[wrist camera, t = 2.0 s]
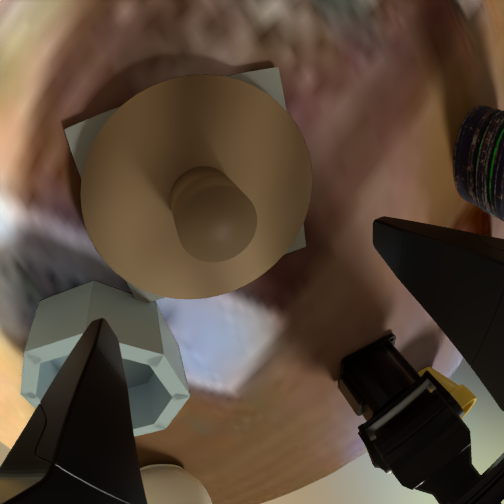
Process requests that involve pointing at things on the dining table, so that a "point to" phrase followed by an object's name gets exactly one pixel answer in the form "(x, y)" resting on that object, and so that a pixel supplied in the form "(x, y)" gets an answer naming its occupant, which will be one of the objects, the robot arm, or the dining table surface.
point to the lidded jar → (172, 485)
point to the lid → (196, 186)
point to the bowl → (131, 345)
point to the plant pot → (453, 390)
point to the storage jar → (481, 160)
